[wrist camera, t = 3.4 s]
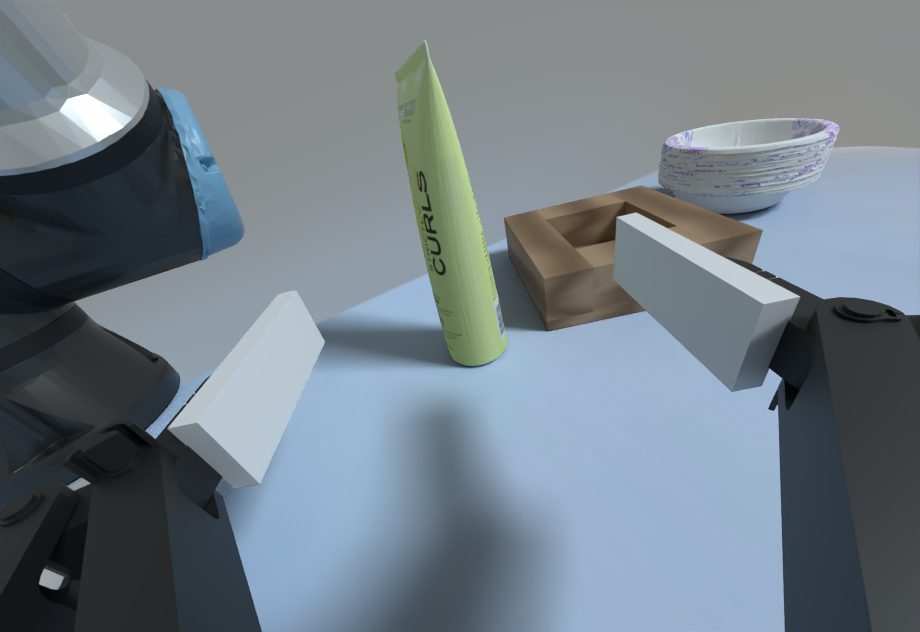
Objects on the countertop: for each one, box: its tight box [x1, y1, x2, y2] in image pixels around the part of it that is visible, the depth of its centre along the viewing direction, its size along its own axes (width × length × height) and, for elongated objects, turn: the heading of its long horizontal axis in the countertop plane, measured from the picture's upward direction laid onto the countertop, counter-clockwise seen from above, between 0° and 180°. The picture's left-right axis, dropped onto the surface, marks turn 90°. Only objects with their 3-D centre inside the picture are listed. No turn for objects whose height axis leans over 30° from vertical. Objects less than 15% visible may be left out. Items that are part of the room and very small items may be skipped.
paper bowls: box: [658, 118, 839, 214], centre depth 38 cm, size 15×15×8 cm
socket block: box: [504, 186, 763, 331], centre depth 32 cm, size 16×16×5 cm
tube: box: [395, 41, 507, 366], centre depth 22 cm, size 6×5×20 cm
